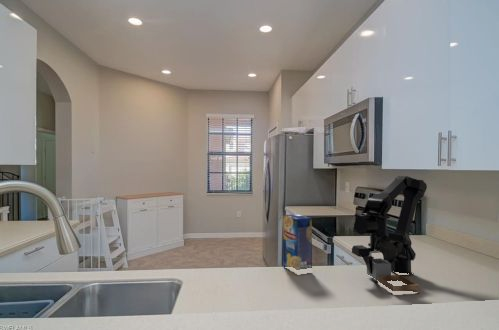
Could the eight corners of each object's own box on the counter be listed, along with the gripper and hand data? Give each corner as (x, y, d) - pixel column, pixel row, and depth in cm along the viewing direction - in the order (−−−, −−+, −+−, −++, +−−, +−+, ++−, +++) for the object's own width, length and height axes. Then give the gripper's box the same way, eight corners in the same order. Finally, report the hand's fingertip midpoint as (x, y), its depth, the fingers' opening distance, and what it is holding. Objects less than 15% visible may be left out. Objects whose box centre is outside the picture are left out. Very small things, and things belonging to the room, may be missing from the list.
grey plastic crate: (381, 273, 111) (381, 258, 111) (391, 279, 105) (391, 263, 105) (366, 274, 110) (366, 259, 110) (376, 280, 104) (376, 264, 104)
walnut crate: (400, 282, 105) (400, 274, 105) (418, 293, 96) (418, 284, 96) (377, 284, 104) (377, 276, 104) (393, 295, 95) (393, 286, 95)
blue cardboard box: (297, 264, 125) (296, 214, 126) (312, 273, 115) (311, 218, 116) (283, 267, 123) (283, 215, 123) (297, 275, 113) (297, 219, 113)
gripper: (367, 237, 99) (367, 283, 98) (416, 235, 102) (416, 279, 101) (350, 230, 110) (351, 271, 109) (395, 228, 113) (395, 268, 112)
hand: (378, 273), depth 108 cm, fingers closed on grey plastic crate, 6 cm apart
